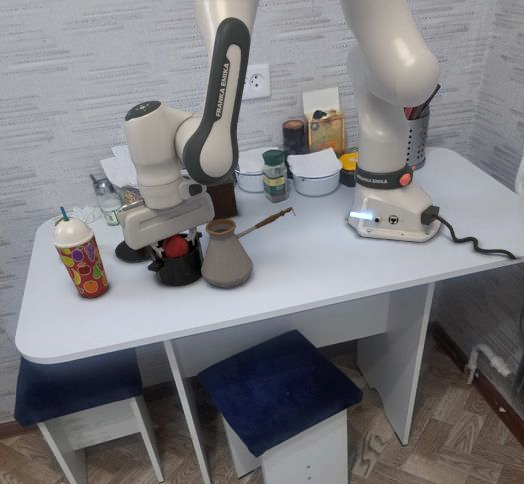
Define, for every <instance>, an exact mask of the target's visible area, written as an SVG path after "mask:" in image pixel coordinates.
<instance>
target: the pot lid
mask: <svg viewBox="0 0 524 484" xmlns="http://www.w3.org/2000/svg"><path fill="white" fill-rule="evenodd" d="M150 247H151V246H150V245H147V246H145V247H142V248H139V249H137V250H134V249H132V248H130V247H129V246H128V245H127V244H126V242H125V240H121V242H119V243H118V244H117V246H116V247H115V249H114V254H115V256H116V257H117V258H118V260H121V261H125V262H142V261H145V260H148V259H152V258H151V255H150Z"/></svg>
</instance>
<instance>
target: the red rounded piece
mask: <svg viewBox="0 0 524 484" xmlns="http://www.w3.org/2000/svg"><path fill="white" fill-rule="evenodd" d="M162 249H164V250H165V255H166V258H176V257H181V256H184V255H186V254H188V253H189V246H188V243H187V241H186V240H185V239H184V238H183V237H181V236H180V235H177V234H176V235H173V236H171V237H168V238H166V239H165V240H164V242H163V248H162Z"/></svg>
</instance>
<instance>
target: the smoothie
mask: <svg viewBox="0 0 524 484" xmlns="http://www.w3.org/2000/svg"><path fill="white" fill-rule="evenodd" d="M59 209H60V212H61V214H62V217H64V220H62V221H61V222H59V223H58V224H57V226H55V227H54V230H53V233H52V234H53V235H52V236H53V237H52V241H51V242H52V244H53V246H54V247H55V249H56V251H57V254H58V255H59V258H60V259H61V261H62V263H63V265H64V267H65V269H66V271H67V273H68V275H69V277H70V279H71V282H72V283H73V285H74V287H75V289H76V291H77V292H78V293H79V294H81V295H82V297H84V298H89V299H91V298H97V297H99V296H101V295H103V294H104V293H105V292H106V291H107V290H108V285H109V280H108V277H107V274H106V271H105V270H106V269H105V267H104V264H103V260H102V256H101V253H100V249H99V245H98V243H97V239H96V235H95V231H94V229H93V228H92V227H90V226H89V225H88V224H87V223H86V222H85V221H83V220H81V219H78V218H75V217H73V218H67V217H68V215H67V213H66V210H65V207H64V206H60V207H59Z"/></svg>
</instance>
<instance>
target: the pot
mask: <svg viewBox="0 0 524 484" xmlns="http://www.w3.org/2000/svg"><path fill="white" fill-rule="evenodd" d="M177 235H180V236H181V237H183V238H184V239H185V238H186V237H188V233H187V232H186V233H185V232H181V233H179V234H177ZM202 237H203V232H201V231H197V232H196V235H195V238H194V243H195V245H194V246H192V247H189V253H188V254H186V255H184V256H181V257H176V258H166V257H164V258H162V257H158V256H157V254H156V251H155V250H154V249H153V248H152V247H150V255H151V258H150V259H151V261H152V262H151V263H149V264H148V265H147V270H148V271H150V272H153V273H155V275H156V279H157V280H158V282H159V283H160V284H162V285H164V286H166V287H167V286H168V287H174V288H175V287H178V288H179V287H185V286H188V285H191V284H194V283H195V282H197V281H199V280H200V279H202V278H203V275H202V273H201V268H202V264H203V260H204V254H203V253H204V252H203V248H202V243H201V240H200V239H201V238H202ZM165 239H166V238H165ZM165 239H163V240H160V241H158V242H157V243H158V246H156V247H157V248H163V242H164V240H165Z"/></svg>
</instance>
